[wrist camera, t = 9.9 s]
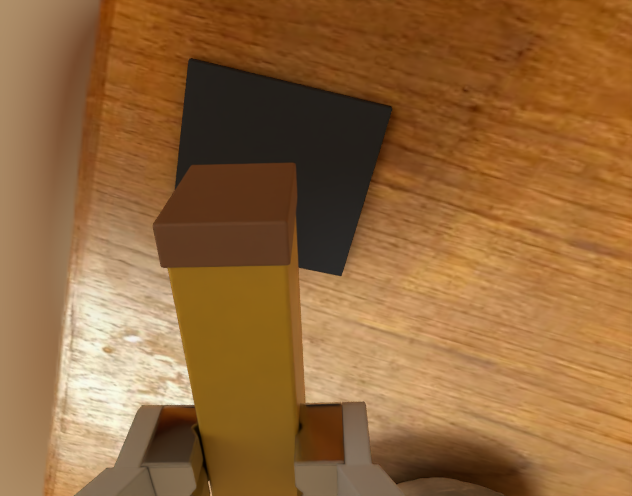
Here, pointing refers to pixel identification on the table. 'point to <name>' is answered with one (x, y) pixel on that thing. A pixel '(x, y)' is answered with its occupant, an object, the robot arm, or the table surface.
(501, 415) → the table surface
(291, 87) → the mat
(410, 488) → the bowl
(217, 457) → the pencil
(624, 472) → the table surface
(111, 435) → the table surface
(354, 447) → the robot arm
